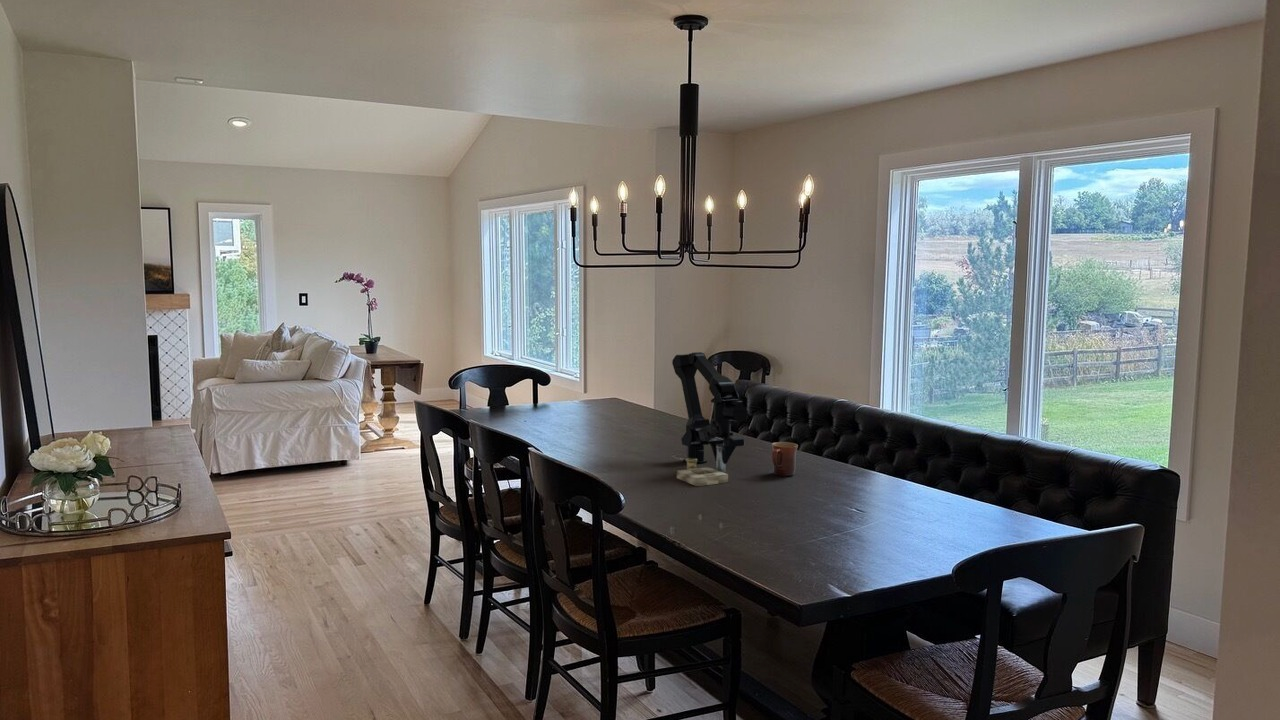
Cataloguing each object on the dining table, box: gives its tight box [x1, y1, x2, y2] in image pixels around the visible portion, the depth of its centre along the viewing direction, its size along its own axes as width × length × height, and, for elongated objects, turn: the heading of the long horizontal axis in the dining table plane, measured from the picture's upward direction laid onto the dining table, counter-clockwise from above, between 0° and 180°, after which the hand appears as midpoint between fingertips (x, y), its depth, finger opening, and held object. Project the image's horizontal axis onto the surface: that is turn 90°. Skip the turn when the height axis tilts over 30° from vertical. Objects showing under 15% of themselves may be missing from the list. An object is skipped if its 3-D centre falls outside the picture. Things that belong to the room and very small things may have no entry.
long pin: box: [715, 444, 727, 473], centre depth 298 cm, size 4×4×9 cm
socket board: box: [676, 466, 729, 487], centre depth 285 cm, size 12×12×3 cm
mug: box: [771, 441, 799, 477], centre depth 293 cm, size 12×9×10 cm
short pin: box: [685, 457, 697, 469], centre depth 296 cm, size 4×4×5 cm
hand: (721, 462), depth 298 cm, fingers open, 4 cm apart
